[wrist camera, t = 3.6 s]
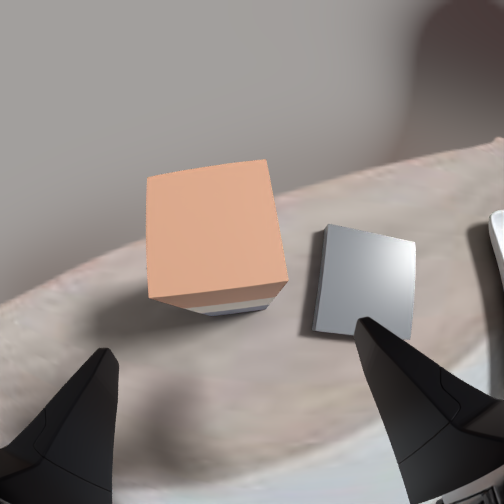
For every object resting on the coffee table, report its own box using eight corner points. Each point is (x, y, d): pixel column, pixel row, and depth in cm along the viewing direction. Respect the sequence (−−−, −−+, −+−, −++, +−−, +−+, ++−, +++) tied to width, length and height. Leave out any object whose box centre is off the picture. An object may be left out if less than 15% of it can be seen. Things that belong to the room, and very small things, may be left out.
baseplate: (402, 339, 19) (410, 339, 18) (311, 330, 19) (315, 330, 18) (408, 246, 21) (415, 242, 20) (324, 229, 21) (328, 223, 20)
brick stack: (265, 309, 20) (288, 280, 7) (211, 316, 19) (148, 298, 7) (257, 256, 21) (266, 159, 9) (205, 263, 21) (147, 177, 8)
